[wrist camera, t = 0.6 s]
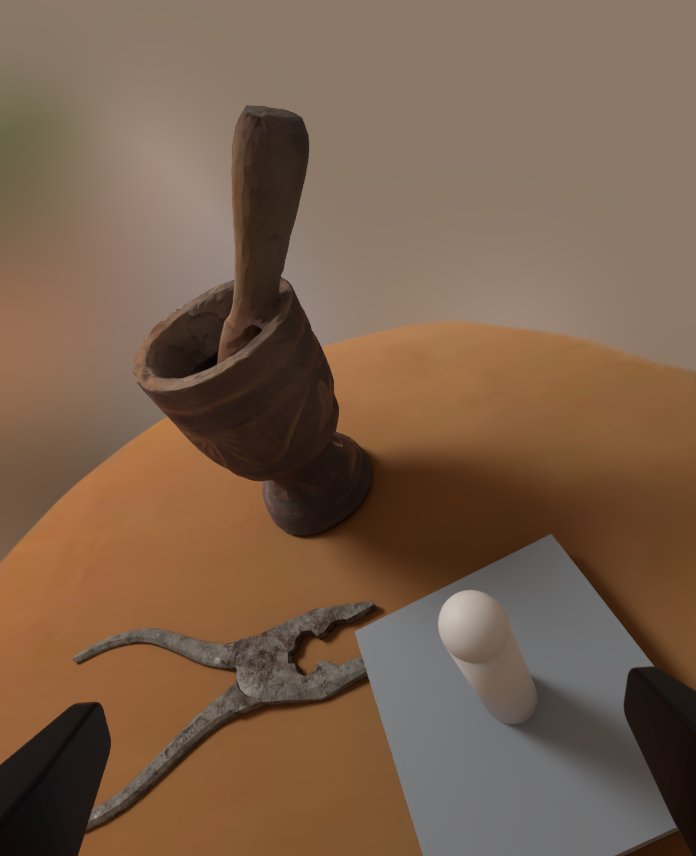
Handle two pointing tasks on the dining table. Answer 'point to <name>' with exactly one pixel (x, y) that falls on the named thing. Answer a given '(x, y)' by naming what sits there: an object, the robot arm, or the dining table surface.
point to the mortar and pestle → (260, 350)
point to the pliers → (239, 682)
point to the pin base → (535, 763)
